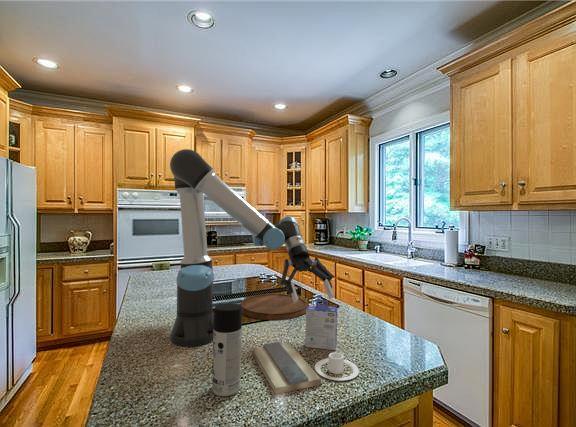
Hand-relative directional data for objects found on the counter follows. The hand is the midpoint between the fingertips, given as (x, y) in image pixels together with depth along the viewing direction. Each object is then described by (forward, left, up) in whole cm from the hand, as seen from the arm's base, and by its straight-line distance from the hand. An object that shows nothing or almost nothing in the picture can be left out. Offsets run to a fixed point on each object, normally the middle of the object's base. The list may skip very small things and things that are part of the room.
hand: (314, 299), depth 104 cm
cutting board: (-2, +36, -14) cm, 39 cm away
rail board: (-17, -15, -13) cm, 26 cm away
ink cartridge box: (0, -6, -14) cm, 15 cm away
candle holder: (-3, -21, -14) cm, 25 cm away
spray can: (-33, -20, -13) cm, 41 cm away
